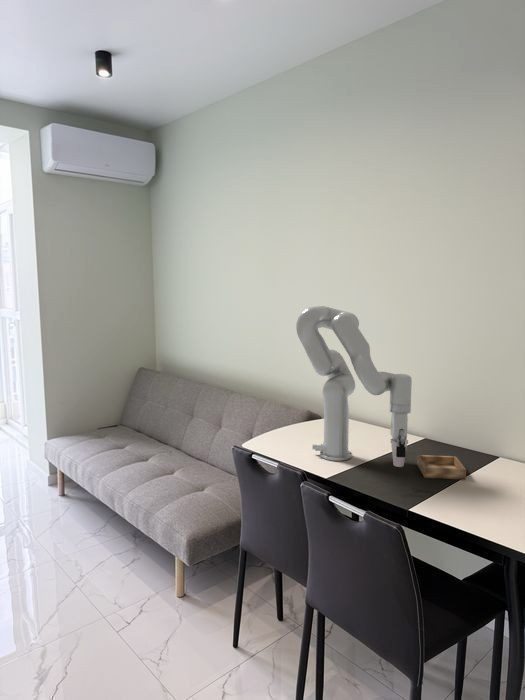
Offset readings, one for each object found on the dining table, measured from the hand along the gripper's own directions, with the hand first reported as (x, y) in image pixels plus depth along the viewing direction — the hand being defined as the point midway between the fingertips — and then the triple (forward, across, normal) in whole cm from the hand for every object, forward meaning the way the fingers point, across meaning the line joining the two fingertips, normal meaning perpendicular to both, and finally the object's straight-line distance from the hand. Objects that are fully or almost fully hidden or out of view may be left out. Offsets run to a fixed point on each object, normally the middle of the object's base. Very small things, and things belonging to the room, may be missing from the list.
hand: (398, 452), depth 188 cm
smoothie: (+5, 0, 0) cm, 5 cm away
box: (+5, +5, +14) cm, 16 cm away
